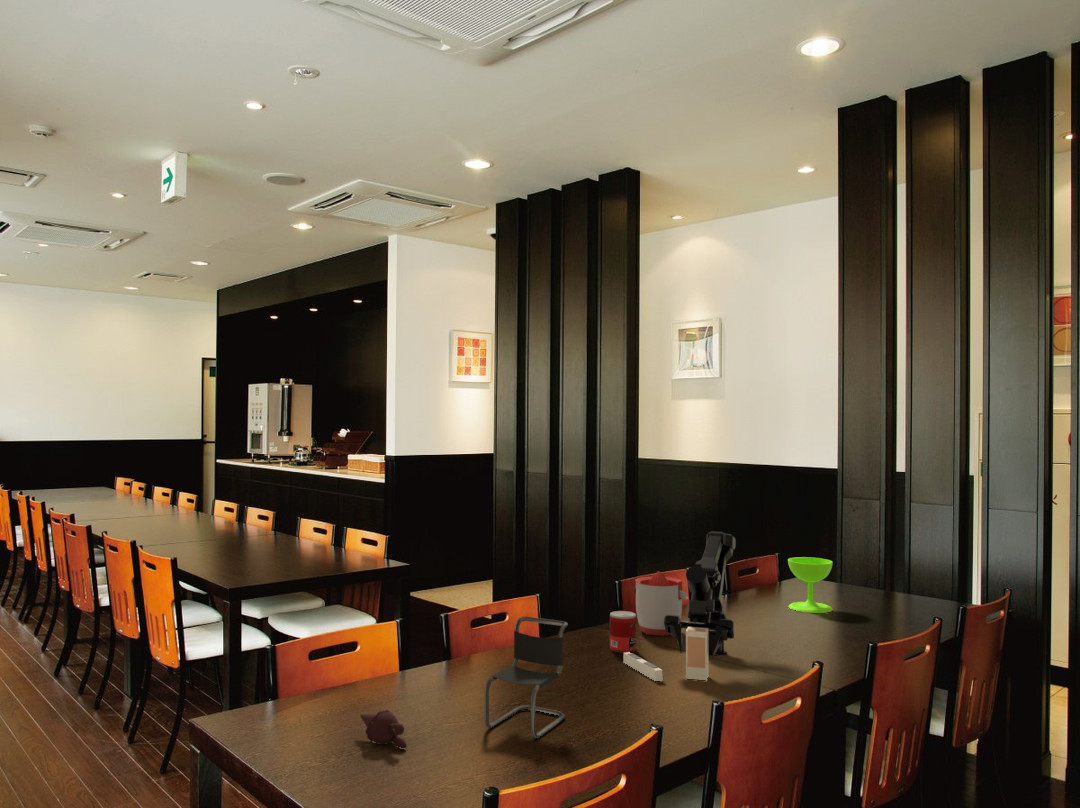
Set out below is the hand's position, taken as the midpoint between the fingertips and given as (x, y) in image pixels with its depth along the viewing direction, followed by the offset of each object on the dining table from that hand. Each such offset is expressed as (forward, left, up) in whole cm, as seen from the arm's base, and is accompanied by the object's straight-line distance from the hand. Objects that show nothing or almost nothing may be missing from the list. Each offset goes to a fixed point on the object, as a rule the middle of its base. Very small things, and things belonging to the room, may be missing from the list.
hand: (696, 654), depth 212 cm
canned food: (+5, -32, -7) cm, 33 cm away
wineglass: (-87, -55, -7) cm, 103 cm away
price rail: (+10, -11, -7) cm, 17 cm away
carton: (-1, -1, -7) cm, 7 cm away
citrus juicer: (-17, -46, -7) cm, 50 cm away
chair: (+54, +13, -7) cm, 56 cm away
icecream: (+87, +11, -7) cm, 88 cm away
